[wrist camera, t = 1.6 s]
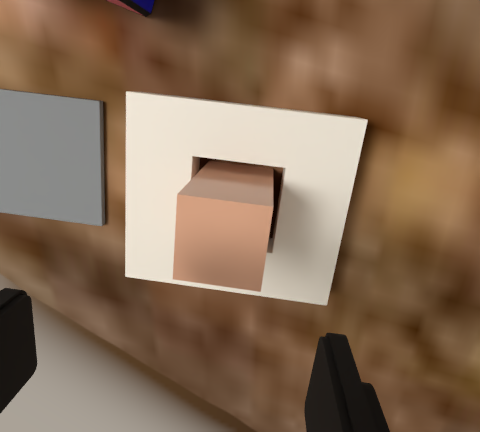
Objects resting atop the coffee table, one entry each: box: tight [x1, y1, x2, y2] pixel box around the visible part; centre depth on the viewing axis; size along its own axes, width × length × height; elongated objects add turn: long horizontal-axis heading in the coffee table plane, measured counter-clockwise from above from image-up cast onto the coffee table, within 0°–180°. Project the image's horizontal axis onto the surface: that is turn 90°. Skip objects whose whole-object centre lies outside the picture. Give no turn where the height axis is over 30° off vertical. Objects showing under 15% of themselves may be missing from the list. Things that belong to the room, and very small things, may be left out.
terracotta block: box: [173, 161, 273, 292], centre depth 24 cm, size 5×5×10 cm
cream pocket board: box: [125, 91, 368, 305], centre depth 27 cm, size 16×14×3 cm
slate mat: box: [0, 89, 105, 226], centre depth 29 cm, size 10×10×1 cm
